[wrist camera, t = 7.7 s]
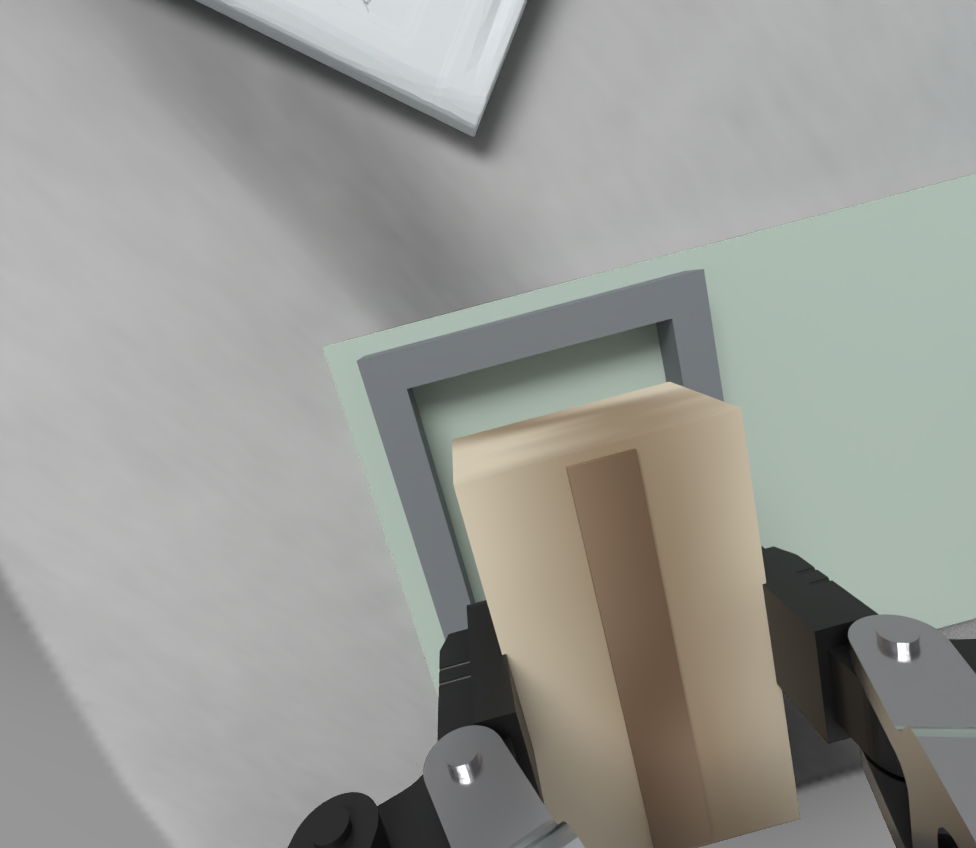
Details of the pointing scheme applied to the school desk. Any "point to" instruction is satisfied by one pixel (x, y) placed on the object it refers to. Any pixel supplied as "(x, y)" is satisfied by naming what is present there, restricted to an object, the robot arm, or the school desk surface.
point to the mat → (718, 396)
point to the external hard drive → (398, 45)
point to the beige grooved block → (634, 615)
